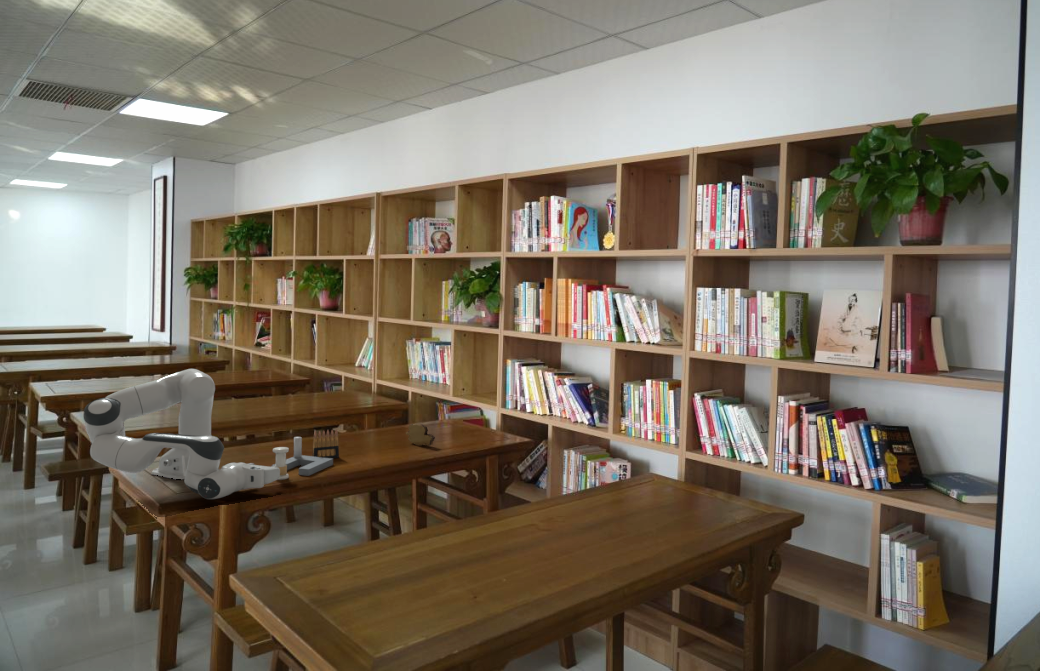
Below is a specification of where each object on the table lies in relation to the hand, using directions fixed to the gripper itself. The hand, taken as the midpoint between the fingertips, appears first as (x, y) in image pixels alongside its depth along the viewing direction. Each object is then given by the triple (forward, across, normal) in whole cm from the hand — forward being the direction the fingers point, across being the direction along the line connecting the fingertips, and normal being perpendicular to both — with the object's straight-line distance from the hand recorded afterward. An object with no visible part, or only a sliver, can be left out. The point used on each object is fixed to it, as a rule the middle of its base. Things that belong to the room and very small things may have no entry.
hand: (264, 466), depth 255 cm
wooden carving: (+81, +26, -7) cm, 85 cm away
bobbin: (+11, 0, -7) cm, 13 cm away
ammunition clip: (+43, 0, -7) cm, 43 cm away
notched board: (+26, 0, -7) cm, 27 cm away
